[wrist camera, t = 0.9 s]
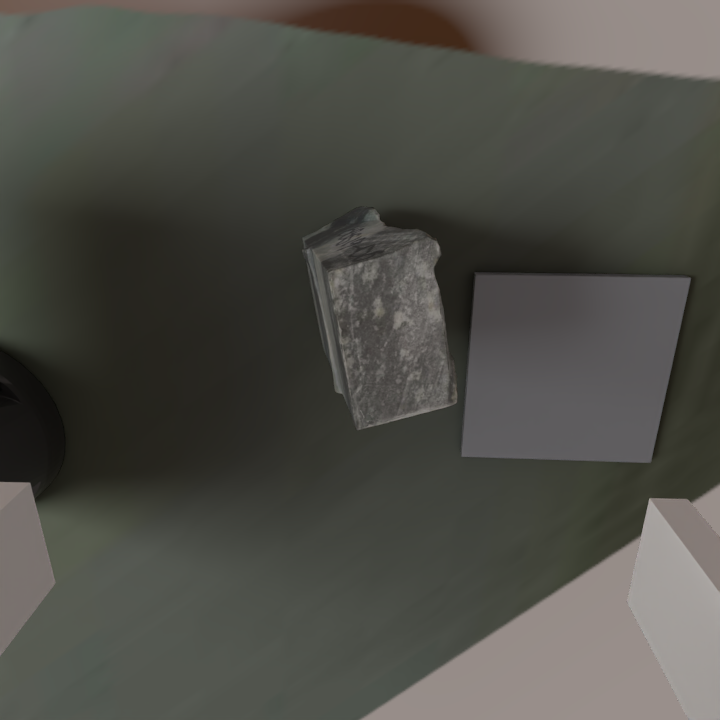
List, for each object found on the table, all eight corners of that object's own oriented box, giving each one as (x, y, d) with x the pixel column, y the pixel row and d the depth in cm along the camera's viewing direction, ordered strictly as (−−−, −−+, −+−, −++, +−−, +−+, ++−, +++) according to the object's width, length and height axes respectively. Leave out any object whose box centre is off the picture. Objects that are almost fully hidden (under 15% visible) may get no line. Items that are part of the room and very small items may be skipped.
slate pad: (460, 451, 43) (461, 456, 42) (474, 272, 38) (475, 274, 37) (646, 457, 42) (650, 462, 42) (685, 275, 37) (691, 277, 37)
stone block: (366, 203, 37) (288, 218, 36) (441, 218, 24) (321, 241, 23) (385, 331, 40) (314, 346, 39) (462, 407, 27) (357, 433, 26)
